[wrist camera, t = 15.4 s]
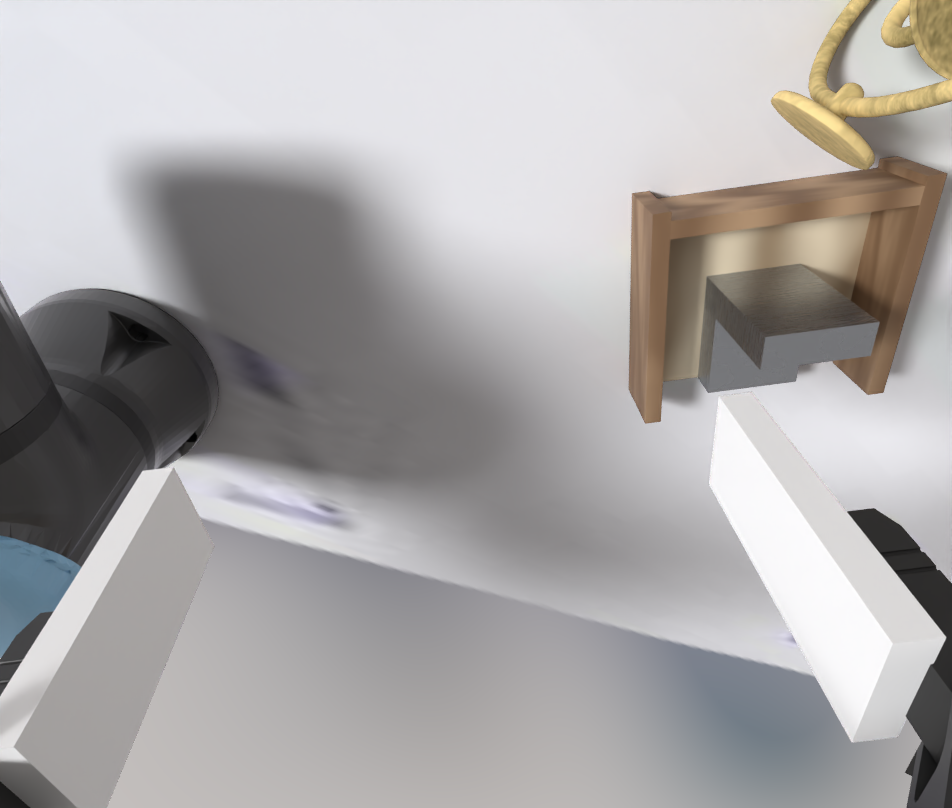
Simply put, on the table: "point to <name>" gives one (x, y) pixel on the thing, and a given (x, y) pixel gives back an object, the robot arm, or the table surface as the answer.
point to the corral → (776, 260)
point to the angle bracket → (776, 327)
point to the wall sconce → (822, 121)
